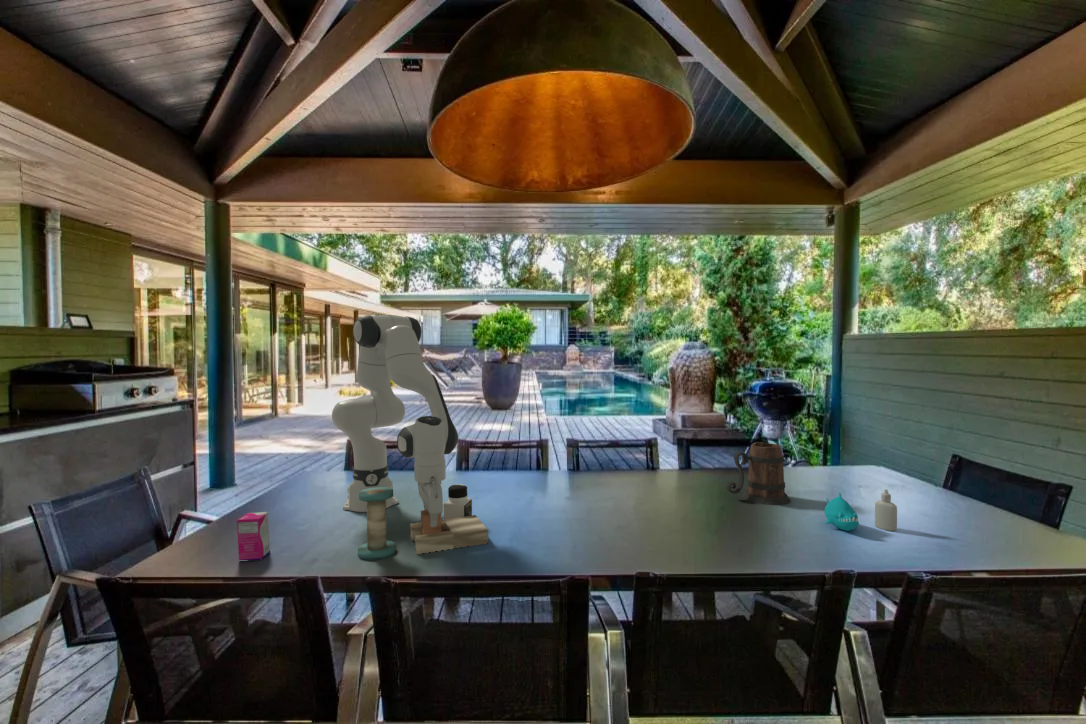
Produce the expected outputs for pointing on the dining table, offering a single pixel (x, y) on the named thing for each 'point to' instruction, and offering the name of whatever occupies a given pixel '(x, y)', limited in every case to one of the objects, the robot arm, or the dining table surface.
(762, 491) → the tankard
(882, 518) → the eye dropper bottle
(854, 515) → the toy shark
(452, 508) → the medicine bottle
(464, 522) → the notched board
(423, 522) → the wooden block
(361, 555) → the bobbin
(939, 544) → the dining table surface
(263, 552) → the supplement box
